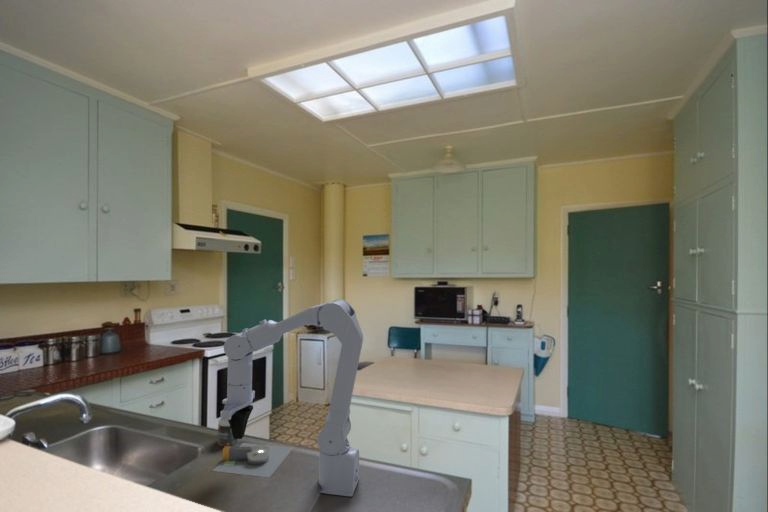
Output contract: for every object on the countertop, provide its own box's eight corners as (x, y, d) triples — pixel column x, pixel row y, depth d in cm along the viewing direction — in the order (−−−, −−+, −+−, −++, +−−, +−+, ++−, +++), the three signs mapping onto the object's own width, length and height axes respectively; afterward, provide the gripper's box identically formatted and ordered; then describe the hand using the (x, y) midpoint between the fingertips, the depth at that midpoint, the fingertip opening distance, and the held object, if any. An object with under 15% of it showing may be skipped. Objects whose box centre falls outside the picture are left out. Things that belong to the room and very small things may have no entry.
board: (293, 452, 109) (293, 447, 109) (269, 482, 94) (269, 477, 94) (243, 447, 111) (243, 442, 111) (212, 475, 97) (212, 470, 97)
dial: (265, 465, 99) (265, 453, 99) (219, 465, 99) (219, 452, 99) (271, 454, 105) (271, 443, 105) (227, 453, 105) (228, 442, 105)
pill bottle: (213, 447, 111) (214, 412, 111) (229, 439, 116) (230, 405, 116) (227, 452, 108) (228, 416, 108) (243, 443, 113) (244, 409, 113)
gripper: (237, 373, 104) (235, 424, 104) (208, 391, 89) (207, 451, 89) (263, 374, 103) (261, 425, 103) (238, 392, 89) (237, 452, 89)
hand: (238, 437), depth 96 cm, fingers closed
